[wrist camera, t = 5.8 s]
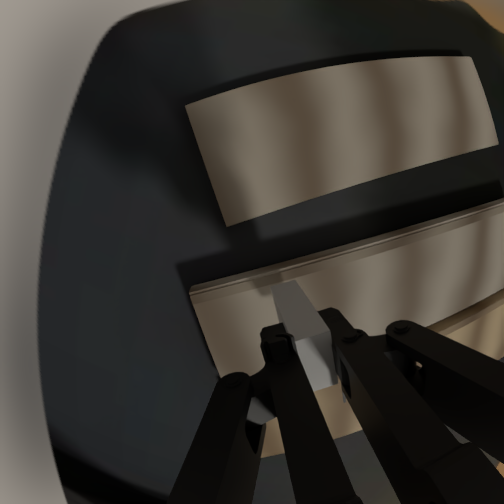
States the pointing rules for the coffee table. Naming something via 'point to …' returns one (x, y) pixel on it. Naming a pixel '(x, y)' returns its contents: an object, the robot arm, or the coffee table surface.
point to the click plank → (362, 283)
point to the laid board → (454, 327)
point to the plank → (336, 129)
